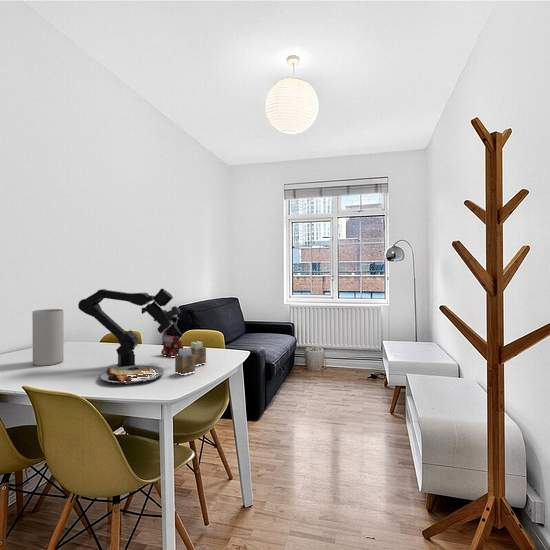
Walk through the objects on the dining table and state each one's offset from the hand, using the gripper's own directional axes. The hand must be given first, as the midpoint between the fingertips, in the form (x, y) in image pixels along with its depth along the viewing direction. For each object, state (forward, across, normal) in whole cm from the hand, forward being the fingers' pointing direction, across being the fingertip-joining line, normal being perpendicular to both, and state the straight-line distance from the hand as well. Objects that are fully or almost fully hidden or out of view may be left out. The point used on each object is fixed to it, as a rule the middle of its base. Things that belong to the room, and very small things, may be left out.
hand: (181, 336), depth 169 cm
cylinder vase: (-36, +5, +54) cm, 66 cm away
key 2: (+11, -14, +5) cm, 18 cm away
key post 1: (+14, 0, +4) cm, 15 cm away
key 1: (+13, 0, +3) cm, 13 cm away
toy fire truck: (+4, +18, +16) cm, 24 cm away
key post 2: (+12, -14, +6) cm, 20 cm away
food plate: (-2, -19, +21) cm, 29 cm away
